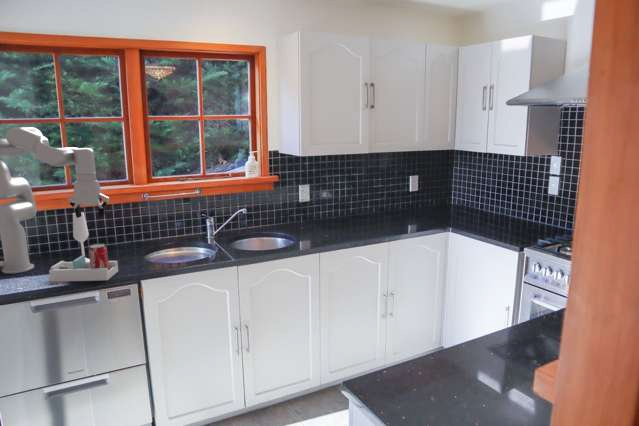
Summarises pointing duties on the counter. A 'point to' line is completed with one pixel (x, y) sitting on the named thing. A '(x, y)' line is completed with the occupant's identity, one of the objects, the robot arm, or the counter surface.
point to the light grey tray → (81, 272)
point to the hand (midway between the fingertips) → (90, 217)
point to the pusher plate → (79, 263)
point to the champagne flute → (80, 231)
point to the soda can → (98, 256)
